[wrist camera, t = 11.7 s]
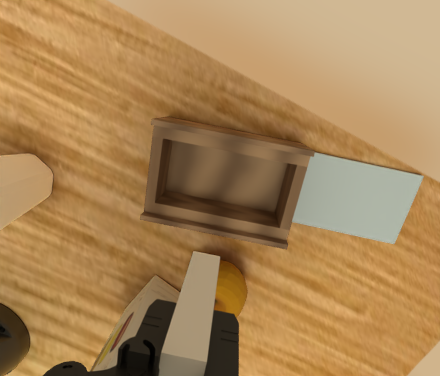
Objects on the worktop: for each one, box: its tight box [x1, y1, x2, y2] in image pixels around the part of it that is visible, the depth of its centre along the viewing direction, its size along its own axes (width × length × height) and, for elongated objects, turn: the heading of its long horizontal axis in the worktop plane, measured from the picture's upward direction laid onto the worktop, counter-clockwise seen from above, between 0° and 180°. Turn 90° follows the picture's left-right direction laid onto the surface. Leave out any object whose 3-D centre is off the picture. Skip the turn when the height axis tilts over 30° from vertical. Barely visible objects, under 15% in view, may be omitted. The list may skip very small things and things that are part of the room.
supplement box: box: [90, 275, 180, 371], centre depth 38 cm, size 10×9×17 cm
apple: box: [214, 260, 248, 318], centre depth 39 cm, size 8×8×9 cm
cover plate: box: [292, 152, 424, 244], centre depth 38 cm, size 16×10×2 cm, turn 78°
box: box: [140, 117, 315, 249], centre depth 35 cm, size 18×12×7 cm, turn 79°
